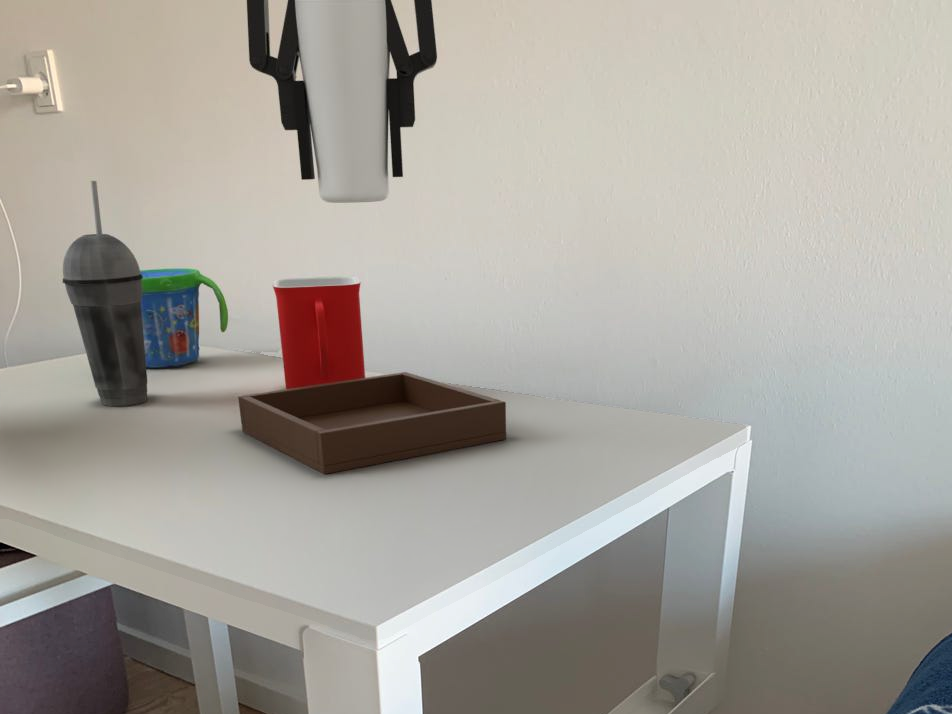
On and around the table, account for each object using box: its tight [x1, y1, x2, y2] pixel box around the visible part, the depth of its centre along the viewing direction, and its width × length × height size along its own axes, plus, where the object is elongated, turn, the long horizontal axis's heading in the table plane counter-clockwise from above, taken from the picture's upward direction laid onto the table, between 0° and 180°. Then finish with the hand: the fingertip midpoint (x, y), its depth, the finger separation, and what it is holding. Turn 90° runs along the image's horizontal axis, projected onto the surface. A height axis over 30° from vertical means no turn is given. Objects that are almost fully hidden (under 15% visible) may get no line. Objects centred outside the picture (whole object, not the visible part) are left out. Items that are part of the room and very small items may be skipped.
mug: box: [272, 275, 366, 389], centre depth 98 cm, size 12×8×11 cm
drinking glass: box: [295, 0, 391, 204], centre depth 74 cm, size 7×7×15 cm
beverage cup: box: [62, 180, 149, 407], centre depth 96 cm, size 7×7×20 cm
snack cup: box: [140, 267, 229, 369], centre depth 116 cm, size 16×10×10 cm
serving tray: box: [237, 371, 507, 475], centre depth 85 cm, size 17×17×3 cm
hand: (353, 177), depth 77 cm, fingers closed on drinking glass, 6 cm apart
